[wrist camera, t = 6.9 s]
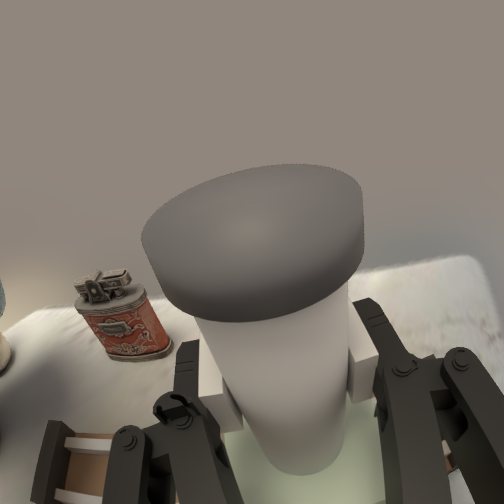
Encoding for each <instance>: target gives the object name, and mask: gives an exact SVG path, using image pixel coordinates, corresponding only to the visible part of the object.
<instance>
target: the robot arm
mask: <svg viewBox="0 0 504 504" xmlns="http://www.w3.org/2000/svg"><path fill="white" fill-rule="evenodd" d="M5 304H6V302H5V294H4V290H3V287H2V283H1V280H0V318H1V316H2V315H3V312H4V309H5ZM348 307H349V339H348V376H347V392H348V394H349V397H350V400H351V403H352V405H353V404H356V403H359V402H362V401H365V400H368V399H371V398H372V393H374V395H375V398H376V400H377V402H376V406H375V411H374V417H377V420H378V428H379V436H380V444H381V453H382V463H383V473H384V486H385V501H386V504H452V500H451V492H450V485H449V478H448V472H447V466H446V461H445V455H444V450H443V445H442V440H441V436H440V431H441V433H442V435H443V437H444V439H445V441H446V443H447V445H448V447H449V449H450V451H451V453H452V455H453V457H454V459H455V461H456V463H457V465H458V467H459V469H460V471H461V473H462V475H463V478H464V480H465V482H466V484H467V486H468V488H469V491H470V493H471V495H472V497H473V500H474V502H475V504H504V395H503V394H502V392H501V391H500V389H499V388H498V386H497V385H496V383H495V382H494V380H493V379H492V377H491V376H490V374H489V373H488V372H487V370H486V369H485V367H484V366H483V365H482V363H481V362H480V361H479V359H478V358H477V356H476V355H475V354H474V353H473V352H472V351H471V350H469V349H467V348H464V347H456V348H453V349H451V350H450V351H448V352H447V353H446V355H445V357H444V358H437V359H420V358H417V357H416V356H414V355H413V354H410V353H408V351H407V350H406V349H405V347H404V345H403V344H402V342H401V340H400V339H399V337H398V335H397V333H396V332H395V330H394V328H393V327H392V325H391V323H389V320H388V318H387V317H386V315H385V314H384V312H383V310H382V309H381V307H380V305H379V304H378V303H376V302H375V301H373V300H372V299H370V298H366V299H362V300H359V301H355V302H351V300H350V298H349V296H348ZM153 414H154V415H155V416H156V417H157V418H158V419H159V420H160V422H159V423H157V424H155V425H153V426H150V427H147V428H145V429H142V430H141V429H140V428H138V427H137V426H133V425H128V426H124V427H122V428H120V429H119V430H118V431H117V432H116V433H115V434H114V436H113V439H112V443H111V448H110V453H109V459H108V465H107V471H106V477H105V484H104V490H103V498H102V504H176V492H177V496H178V500H179V504H244V501H243V499H242V496H241V493H240V490H239V487H238V484H237V481H236V479H235V476H234V473H233V470H232V467H231V464H230V461H229V457H228V454H227V451H226V448H225V445H224V443H223V441H222V440H221V436H220V428H221V430H222V431H223V433H228V432H235V431H241V430H244V425H243V415H242V412H241V411H240V409H239V407H238V405H237V403H236V401H235V399H234V397H233V396H232V394H231V392H230V390H229V388H228V386H227V384H226V382H225V380H224V378H223V376H222V374H221V372H220V370H219V368H218V366H217V364H216V362H215V360H214V358H213V356H212V354H211V352H210V350H209V348H208V346H207V343H206V341H205V339H204V337H203V335H202V333H201V331H200V339H198V340H193V341H188V342H182V344H181V346H180V347H179V349H178V351H177V353H176V366H175V375H174V388H173V391H171V392H168V393H166V394H163V395H162V396H161V397H160V398H159V399H158V400H157V401H156V403H155V404H154V406H153ZM439 429H440V431H439Z"/></svg>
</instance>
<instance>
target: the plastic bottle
mask: <svg viewBox="0 0 504 504" xmlns="http://www.w3.org/2000/svg"><path fill="white" fill-rule="evenodd" d="M10 357H11V349H10V345H9V343H8V342H7V340H6V338H5V337H4V336H3V335H2V334H1V333H0V372H1V371H2V370H3V369H4V368H5V366H6V365H7V364H8V362H9V360H10Z"/></svg>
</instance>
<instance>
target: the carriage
mask: <svg viewBox="0 0 504 504" xmlns="http://www.w3.org/2000/svg"><path fill="white" fill-rule="evenodd" d="M141 241H142V246H143V248H144V250H145V253H146V255H147V257H148V259H149V262H150V264H151V266H152V268H153V270H154V273H155V275H156V277H157V279H158V281H159V283H160V286H161V288H162V290H163V292H164V294H165V296H166V297H167V299H168V300H169V301H170V302H171V303H172V304H173V305H174V306H175V307H177V308H178V309H180V310H181V311H183V312H185V313H187V314H189V315H192V316H194V318H195V320H196V322H197V324H198V326H199V329H200V331H201V333H202V335H203V337H204V339H205V341H206V343H207V346H208V348H209V350H210V352H211V354H212V356H213V358H214V360H215V362H216V364H217V366H218V368H219V370H220V372H221V374H222V376H223V378H224V380H225V382H226V384H227V386H228V388H229V390H230V392H231V394H232V396H233V397H234V399H235V401H236V403H237V405H238V407H239V409H240V411H241V412H242V415H243V425H244V430H241V431H235V432H228V433H224V437H225V448H226V451H227V454H228V457H229V461H230V464H231V467H232V470H233V473H234V476H235V479H236V481H237V484H238V487H239V490H240V493H241V496H242V499H243V501H244V504H386V501H385V486H384V473H383V463H382V453H381V444H380V436H379V428H378V420H377V417H374V411H375V408H374V405H373V403H372V400H371V399H368V400H365V401H362V402H359V403H356V404H353V405H352V403H351V400H350V397H349V394H348V392H347V376H348V339H349V307H348V280H349V279H350V277H351V276H352V275H353V274H354V272H355V271H356V270H357V268H358V266H359V264H360V262H361V260H362V257H363V254H364V217H363V198H362V191H361V187H360V186H359V184H358V183H357V182H356V180H355V179H353V178H352V177H351V176H349V175H347V174H346V173H344V172H341V171H339V170H336V169H333V168H329V167H324V166H318V165H307V164H282V165H271V166H263V167H257V168H251V169H246V170H242V171H238V172H234V173H230V174H227V175H224V176H221V177H217V178H215V179H212V180H209V181H206V182H204V183H202V184H199V185H197V186H195V187H193V188H191V189H189V190H187V191H185V192H183V193H181V194H179V195H178V196H176V197H174V198H173V199H171V200H170V201H168V202H167V203H165V204H164V205H163V206H162V207H161V208H159V209H158V210H157V211H156V212H155V213H154V214H153V215H152V216H151V217H150V219H149V220H148V221H147V223H146V224H145V226H144V228H143V231H142V234H141Z"/></svg>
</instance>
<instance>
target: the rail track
mask: <svg viewBox="0 0 504 504" xmlns="http://www.w3.org/2000/svg"><path fill="white" fill-rule="evenodd" d="M423 359H436V358H435V356H434V354H432V355H430V356H428V357H425V358H423ZM371 400H372V403H373V405H374V408H375V406H376V402H377V400H376V398H375V395H374V393H372V398H371ZM439 431H440V429H439ZM113 436H114V434H88V433H75V432H74V431H73V430H72V429H70V428H69V427H68V426H67V425H66V424H64V423H63V422H62V421H54V420H49V421H48V424H47V428H46V431H45V435H44V439H43V443H42V446H41V450H40V455H39V459H38V463H37V468H36V472H35V477H34V482H33V487H32V493H31V498H30V501H32V502H34V503H36V504H102V498H103V490H104V484H105V477H106V471H107V465H108V459H109V453H110V448H111V443H112V439H113ZM220 436H221V440H222V441H223V443H224V445H225V437H224V433H223V431H222V430H221V428H220ZM440 436H441V440H442V445H443V450H444V455H445V461H446V466H447V472H448V474H449V473H451V472H453V471H454V470H456V469H458V468H459V467H458V465H457V463H456V461H455V459H454V457H453V455H452V453H451V451H450V449H449V447H448V445H447V443H446V441H445V439H444V437H443V435H442V433H441V431H440ZM176 504H179V500H178V496H177V492H176Z"/></svg>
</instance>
